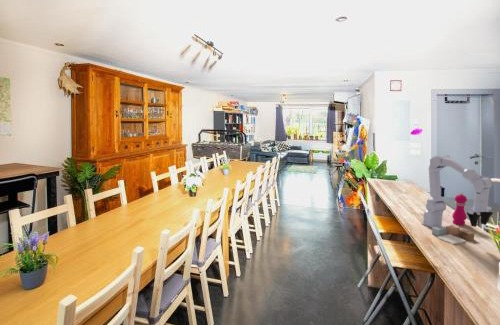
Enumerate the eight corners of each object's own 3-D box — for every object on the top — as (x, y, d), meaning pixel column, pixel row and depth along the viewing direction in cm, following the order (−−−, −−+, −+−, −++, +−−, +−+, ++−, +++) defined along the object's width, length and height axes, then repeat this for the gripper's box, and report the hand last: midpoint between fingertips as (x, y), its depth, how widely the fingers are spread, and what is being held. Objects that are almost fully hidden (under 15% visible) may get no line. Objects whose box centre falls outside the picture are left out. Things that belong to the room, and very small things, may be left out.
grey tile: (437, 238, 159) (437, 236, 159) (449, 235, 162) (449, 234, 161) (453, 244, 150) (453, 242, 150) (465, 241, 153) (465, 240, 153)
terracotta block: (451, 235, 162) (452, 228, 162) (445, 232, 166) (445, 226, 165) (459, 233, 164) (459, 227, 164) (452, 231, 168) (453, 224, 167)
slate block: (438, 236, 161) (438, 229, 160) (431, 234, 165) (432, 227, 164) (446, 235, 163) (446, 228, 162) (439, 232, 167) (440, 226, 166)
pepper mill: (452, 220, 185) (454, 190, 182) (466, 223, 180) (468, 192, 177) (451, 223, 179) (453, 192, 176) (465, 226, 175) (468, 194, 172)
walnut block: (457, 236, 160) (458, 230, 160) (462, 235, 161) (463, 229, 161) (468, 240, 155) (469, 233, 154) (473, 239, 156) (474, 232, 155)
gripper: (479, 204, 143) (476, 229, 145) (499, 200, 148) (496, 225, 150) (465, 200, 150) (462, 225, 152) (484, 197, 155) (481, 221, 157)
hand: (478, 225), depth 151 cm, fingers open, 7 cm apart
